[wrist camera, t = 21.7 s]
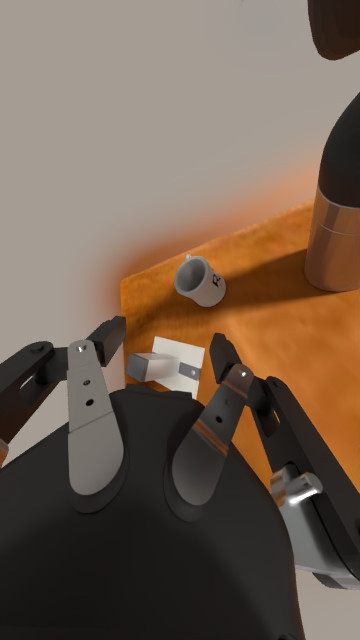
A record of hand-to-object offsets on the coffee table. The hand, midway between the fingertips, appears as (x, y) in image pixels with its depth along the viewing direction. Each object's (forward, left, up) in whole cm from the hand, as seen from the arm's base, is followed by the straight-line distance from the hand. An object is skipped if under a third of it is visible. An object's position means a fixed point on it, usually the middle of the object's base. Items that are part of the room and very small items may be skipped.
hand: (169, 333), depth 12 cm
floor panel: (+9, -17, -23) cm, 30 cm away
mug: (-14, -10, -23) cm, 29 cm away
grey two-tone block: (+9, -17, -22) cm, 29 cm away
